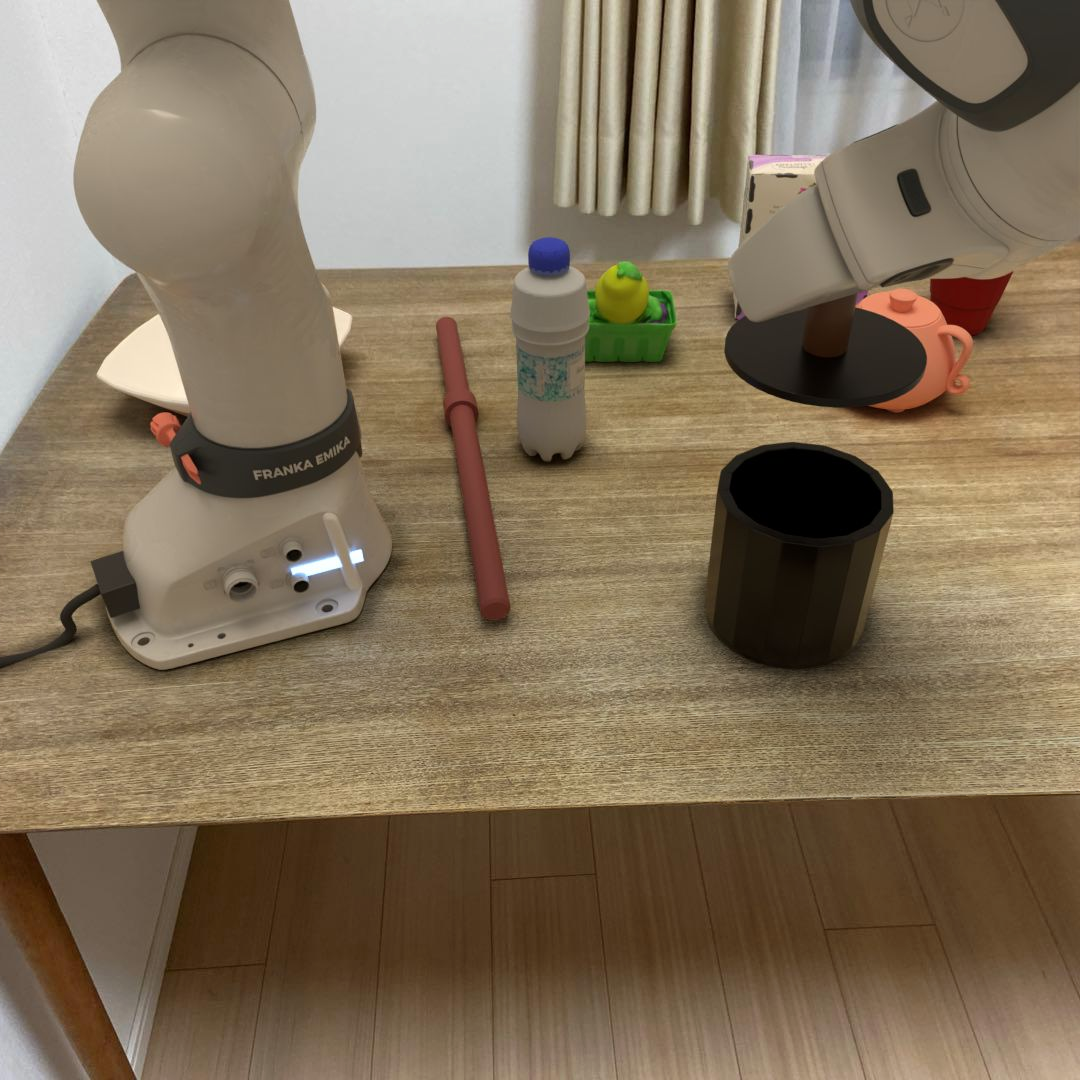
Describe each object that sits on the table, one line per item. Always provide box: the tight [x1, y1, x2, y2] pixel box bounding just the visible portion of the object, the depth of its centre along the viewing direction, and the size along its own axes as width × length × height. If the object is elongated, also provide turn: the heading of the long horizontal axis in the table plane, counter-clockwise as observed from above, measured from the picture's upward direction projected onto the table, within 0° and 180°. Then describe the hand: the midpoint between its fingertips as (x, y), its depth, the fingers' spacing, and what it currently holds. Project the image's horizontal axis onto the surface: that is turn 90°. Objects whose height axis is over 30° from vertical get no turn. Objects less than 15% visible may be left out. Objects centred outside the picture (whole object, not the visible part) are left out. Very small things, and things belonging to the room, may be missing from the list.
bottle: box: [509, 236, 590, 462], centre depth 87 cm, size 7×7×20 cm
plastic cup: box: [929, 270, 1015, 337], centre depth 106 cm, size 11×11×12 cm
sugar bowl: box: [855, 288, 974, 413], centre depth 97 cm, size 12×14×10 cm
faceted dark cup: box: [703, 441, 895, 670], centre depth 73 cm, size 12×12×12 cm
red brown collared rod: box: [435, 316, 511, 621], centre depth 92 cm, size 45×3×3 cm, turn 9°
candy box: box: [732, 154, 869, 321], centre depth 108 cm, size 14×6×16 cm, turn 84°
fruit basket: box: [585, 261, 678, 363], centre depth 103 cm, size 11×9×11 cm
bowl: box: [96, 306, 353, 417], centre depth 101 cm, size 22×22×5 cm
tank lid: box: [723, 293, 927, 409], centre depth 62 cm, size 12×12×9 cm
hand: (826, 289), depth 62 cm, fingers closed on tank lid, 3 cm apart
